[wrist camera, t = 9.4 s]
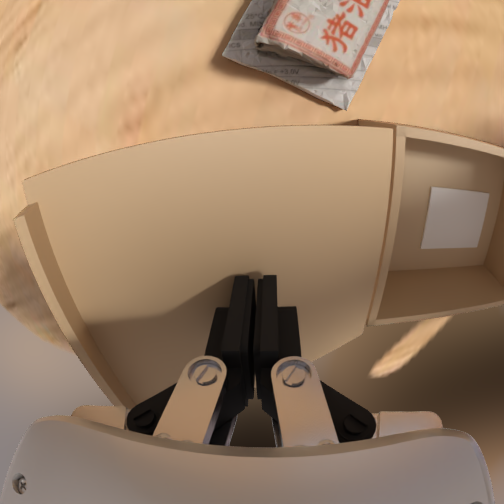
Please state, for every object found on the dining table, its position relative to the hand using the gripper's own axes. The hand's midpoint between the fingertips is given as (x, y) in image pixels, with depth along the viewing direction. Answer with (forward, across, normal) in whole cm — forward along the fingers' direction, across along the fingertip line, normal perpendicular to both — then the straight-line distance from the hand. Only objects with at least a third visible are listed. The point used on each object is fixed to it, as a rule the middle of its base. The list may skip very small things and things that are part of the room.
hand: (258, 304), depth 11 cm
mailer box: (+12, -17, 0) cm, 21 cm away
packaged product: (+13, -6, -18) cm, 23 cm away
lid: (-1, -1, 0) cm, 1 cm away
